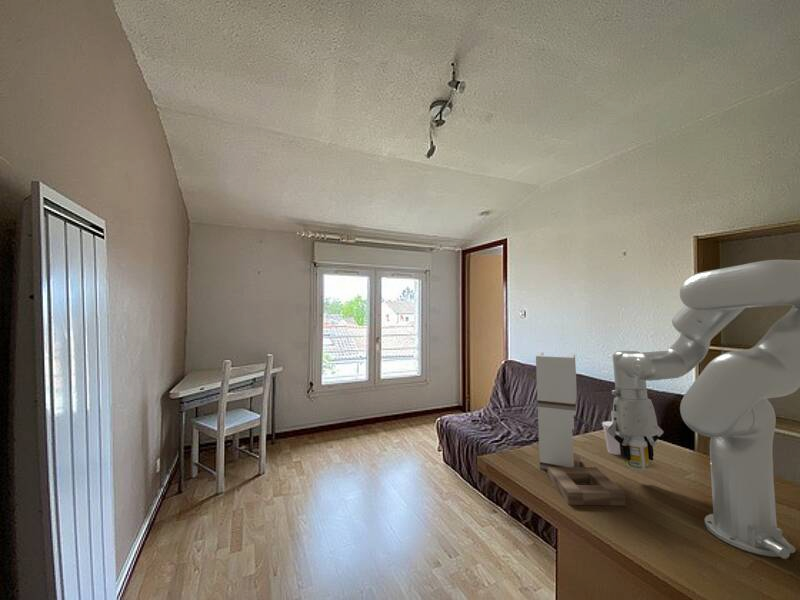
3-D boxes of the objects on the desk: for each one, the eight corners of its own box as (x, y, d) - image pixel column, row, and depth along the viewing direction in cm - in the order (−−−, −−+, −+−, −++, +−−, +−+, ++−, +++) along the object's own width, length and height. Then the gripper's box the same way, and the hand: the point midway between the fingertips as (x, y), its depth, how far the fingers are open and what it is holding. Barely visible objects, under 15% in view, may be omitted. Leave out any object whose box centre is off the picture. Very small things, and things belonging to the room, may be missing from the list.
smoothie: (625, 451, 115) (623, 410, 116) (625, 458, 110) (623, 415, 110) (603, 447, 119) (601, 407, 119) (603, 454, 113) (601, 412, 114)
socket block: (625, 505, 83) (625, 493, 83) (568, 504, 84) (568, 492, 84) (596, 477, 97) (596, 467, 97) (547, 477, 98) (547, 466, 98)
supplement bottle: (642, 463, 97) (638, 429, 98) (654, 471, 91) (650, 435, 92) (622, 463, 97) (619, 429, 98) (633, 471, 92) (630, 435, 93)
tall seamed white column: (578, 476, 98) (573, 357, 100) (539, 468, 104) (535, 356, 105) (579, 461, 108) (575, 353, 110) (544, 454, 114) (540, 352, 115)
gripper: (607, 397, 93) (613, 464, 91) (671, 395, 92) (678, 463, 90) (594, 392, 100) (599, 453, 99) (653, 390, 99) (659, 453, 98)
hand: (637, 457), depth 95 cm, fingers closed on supplement bottle, 5 cm apart
